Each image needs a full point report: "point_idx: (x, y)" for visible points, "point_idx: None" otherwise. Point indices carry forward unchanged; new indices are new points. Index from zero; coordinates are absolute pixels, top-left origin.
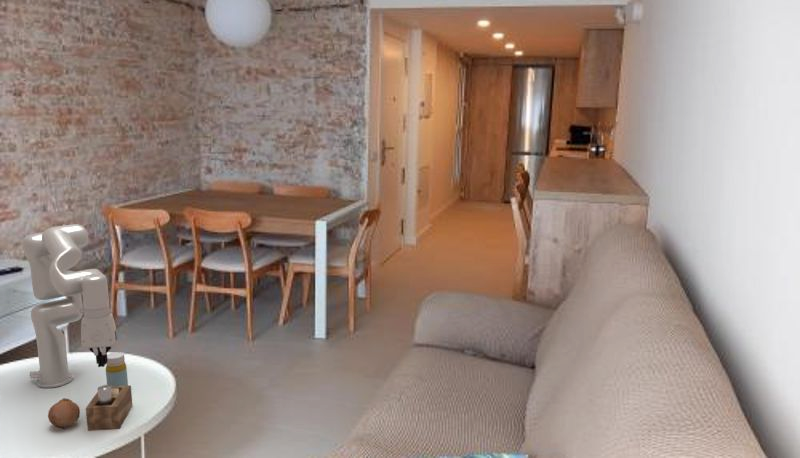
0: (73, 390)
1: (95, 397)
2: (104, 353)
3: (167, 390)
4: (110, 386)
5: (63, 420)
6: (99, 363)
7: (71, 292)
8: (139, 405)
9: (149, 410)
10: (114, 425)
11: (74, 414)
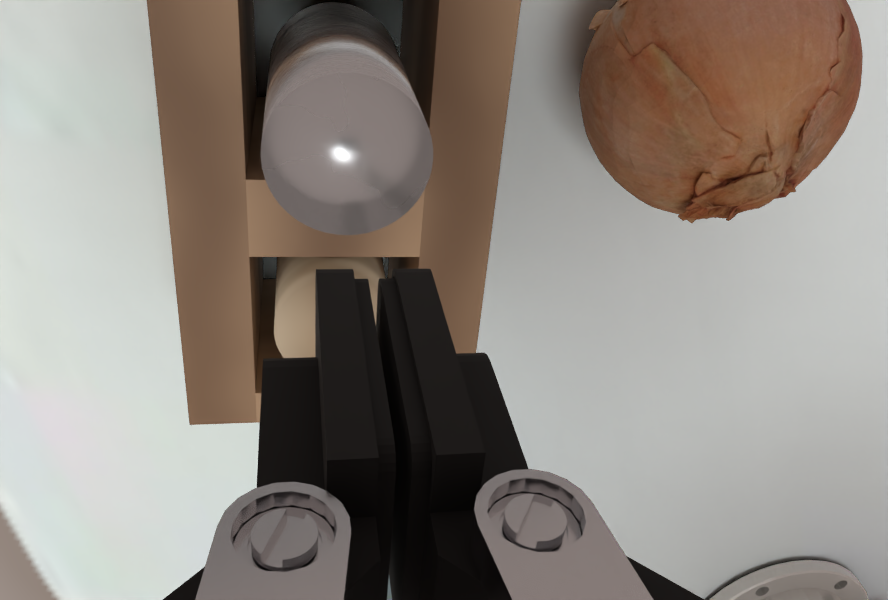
0: (667, 532)
1: (472, 213)
2: (256, 530)
3: (25, 510)
4: (270, 185)
5: None
6: (406, 307)
7: None
8: (158, 314)
9: (30, 223)
10: None
11: (625, 20)
